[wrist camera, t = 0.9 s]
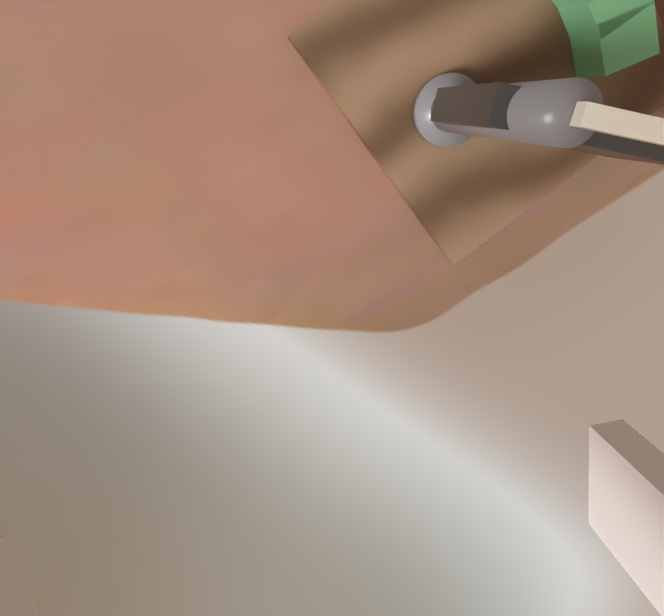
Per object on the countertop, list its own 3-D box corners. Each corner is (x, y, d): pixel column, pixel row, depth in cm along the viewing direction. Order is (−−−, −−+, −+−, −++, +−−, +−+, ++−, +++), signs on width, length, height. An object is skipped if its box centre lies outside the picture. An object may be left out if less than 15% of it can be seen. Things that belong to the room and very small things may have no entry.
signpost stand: (405, 139, 34) (513, 163, 20) (421, 66, 32) (551, 36, 18) (593, 175, 36) (805, 219, 22) (616, 110, 35) (857, 114, 21)
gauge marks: (528, -57, 31) (555, -73, 28) (612, -89, 31) (648, -109, 28) (563, 169, 36) (589, 174, 33) (635, 141, 36) (666, 144, 33)
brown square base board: (288, 38, 32) (289, 36, 31) (555, -199, 29) (566, -211, 28) (448, 261, 39) (454, 265, 38) (674, 85, 36) (687, 84, 35)
